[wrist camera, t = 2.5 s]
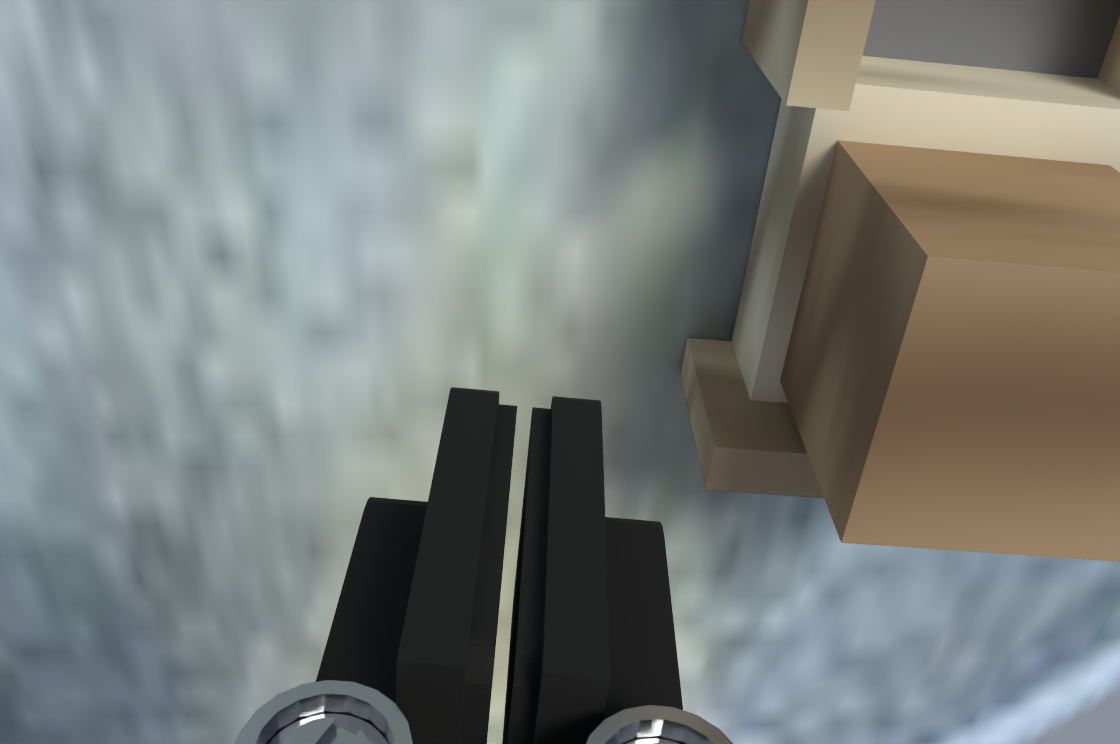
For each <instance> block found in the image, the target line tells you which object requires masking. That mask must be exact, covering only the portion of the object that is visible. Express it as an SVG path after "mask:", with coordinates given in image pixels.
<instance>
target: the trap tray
mask: <svg viewBox="0 0 1120 744" xmlns="http://www.w3.org/2000/svg"><path fill="white" fill-rule="evenodd" d="M741 42H742V44H743V45H744V46H745V48H746V49H747V51H748V52H749V54H750V55H751V56H752V58H753V59H754V61H755V62H756V63H757V65H758V66H759V68H760V69H761V70H762V72H763V73H764V75H765V76H766V77H767V79H768V80H769V82H770V83H771V85H772V86H773V87H774V89H775V90H776V92H777V93H778V94H779V96H780V97H781V103H780V108H779V113H778V118H777V123H776V128H775V132H774V137H773V142H772V147H771V152H770V157H769V161H768V166H767V171H766V176H765V181H764V186H763V190H762V195H761V200H760V205H759V210H758V215H757V219H756V224H755V229H754V234H753V239H752V244H751V249H750V253H749V258H748V263H747V268H746V273H745V278H744V282H743V287H742V292H741V297H740V302H739V307H738V311H737V316H736V321H735V326H734V331H733V336H732V340H731V341H724V340H711V339H699V338H687V342H686V348H685V354H684V359H683V365H682V370H681V381H682V385H683V390H684V394H685V399H686V403H687V408H688V412H689V417H690V421H691V426H692V430H693V435H694V439H695V444H696V448H697V453H698V457H699V462H700V466H701V471H702V475H703V480H704V484H705V489H706V490H717V491H731V492H745V493H759V494H774V495H788V496H802V497H816V498H824V496H823V493H822V491H821V488H820V485H819V483H818V480H817V477H816V475H815V472H814V470H813V467H812V464H811V462H810V459H809V456H808V454H807V451H806V449H805V446H804V443H803V441H802V438H801V435H800V433H799V430H798V428H797V425H796V422H795V420H794V417H793V414H792V412H791V409H790V407H789V404H788V401H787V399H786V396H785V393H784V391H783V388H782V386H781V383H780V379H781V374H782V370H783V366H784V362H785V358H786V353H787V349H788V345H789V341H790V337H791V333H792V328H793V324H794V320H795V316H796V312H797V308H798V303H799V299H800V295H801V291H802V287H803V282H804V278H805V274H806V270H807V266H808V262H809V257H810V253H811V249H812V245H813V241H814V237H815V232H816V228H817V224H818V220H819V216H820V211H821V207H822V203H823V199H824V195H825V191H826V186H827V182H828V178H829V174H830V170H831V165H832V161H833V157H834V153H835V149H836V145H837V140H841V141H852V142H863V143H873V144H884V145H895V146H906V147H917V148H928V149H938V150H949V151H960V152H971V153H982V154H993V155H1004V156H1014V157H1025V158H1036V159H1047V160H1058V161H1069V162H1079V163H1090V164H1101V165H1110V166H1111V167H1113V168H1114V169H1116V170H1117V171H1118V172H1120V0H749V1H748V7H747V12H746V18H745V23H744V29H743V34H742V40H741Z"/></svg>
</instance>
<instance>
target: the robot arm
mask: <svg viewBox="0 0 1120 744" xmlns="http://www.w3.org/2000/svg"><path fill="white" fill-rule="evenodd" d="M516 413H517V406H511V405H499V392H498V391H487V390H476V389H465V388H453V387H452V388H451V390H450V394H449V399H448V404H447V409H446V414H445V419H444V424H443V429H442V434H441V439H440V444H439V449H438V454H437V459H436V464H435V469H434V474H433V479H432V485H431V490H430V495H429V500H428V502H421V501H410V500H398V499H386V498H375V497H370V498H369V499H368V501H367V503H366V506H365V509H364V512H363V515H362V519H361V523H360V526H359V530H358V533H357V537H356V540H355V544H354V548H353V551H352V555H351V558H350V562H349V565H348V569H347V573H346V576H345V580H344V583H343V587H342V591H341V594H340V598H339V601H338V605H337V608H336V612H335V616H334V619H333V623H332V626H331V630H330V633H329V637H328V641H327V644H326V648H325V651H324V655H323V658H322V662H321V666H320V669H319V673H318V676H317V680H316V682H313V683H307V684H302V685H299V686H297V687H295V688H292V689H290V690H287V691H285V692H283V693H280V694H278V695H276V696H275V697H274V698H272V699H271V700H270V701H268V702H267V703H266V704H264V705H263V706H262V707H261V708H259V709H258V710H257V711H256V712H255V713H254V714H253V716H252V717H251V718H250V720H249V721H248V722H247V724H246V725H245V726H244V728H243V729H242V730H241V732H240V734H239V736H238V738H237V740H236V741H235V743H234V744H487V733H488V722H489V711H490V700H491V689H492V679H493V668H494V657H495V646H496V635H497V624H498V613H499V602H500V591H501V580H502V569H503V558H504V547H505V536H506V524H507V513H508V502H509V491H510V480H511V469H512V458H513V447H514V435H515V424H516ZM502 744H733V743H732V742H731V741H730V740H729V739H728V738H727V737H726V736H725V734H724V733H723V732H722V731H721V730H720V729H718V728H717V727H715V726H714V725H712V724H710V723H709V722H707V721H706V720H704V719H703V718H701V717H699V716H698V715H695V714H692V713H689V712H686V711H683V706H682V697H681V687H680V678H679V669H678V660H677V651H676V641H675V632H674V623H673V614H672V604H671V595H670V586H669V577H668V567H667V558H666V549H665V540H664V533H663V527H662V525H661V523H660V522H656V521H644V520H632V519H620V518H609V517H605V497H604V469H603V440H602V411H601V401H598V400H587V399H576V398H565V397H554V396H553V398H552V404H551V409H544V408H533V409H532V418H531V428H530V438H529V448H528V458H527V468H526V478H525V488H524V498H523V508H522V518H521V528H520V539H519V549H518V559H517V569H516V579H515V589H514V600H513V612H512V625H511V638H510V651H509V664H508V677H507V691H506V704H505V717H504V730H503V743H502Z"/></svg>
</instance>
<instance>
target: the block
mask: <svg viewBox="0 0 1120 744" xmlns="http://www.w3.org/2000/svg"><path fill="white" fill-rule="evenodd" d="M780 383H781V386H782V388H783V391H784V393H785V396H786V399H787V401H788V404H789V407H790V409H791V412H792V414H793V417H794V420H795V422H796V425H797V428H798V430H799V433H800V435H801V438H802V441H803V443H804V446H805V449H806V451H807V454H808V456H809V459H810V462H811V464H812V467H813V470H814V472H815V475H816V477H817V480H818V483H819V485H820V488H821V491H822V493H823V496H824V498H825V501H826V504H827V506H828V509H829V511H830V514H831V517H832V519H833V522H834V525H835V527H836V530H837V532H838V535H839V538H840V540H841V543H854V544H869V545H883V546H898V547H912V548H927V549H942V550H956V551H971V552H986V553H1000V554H1015V555H1029V556H1044V557H1059V558H1073V559H1088V560H1102V561H1117V562H1120V172H1118V171H1117V170H1116V169H1114V168H1113V167H1111V166H1110V165H1101V164H1090V163H1079V162H1069V161H1058V160H1047V159H1036V158H1025V157H1014V156H1004V155H993V154H982V153H971V152H960V151H949V150H938V149H928V148H917V147H906V146H895V145H884V144H873V143H863V142H852V141H841V140H837V145H836V149H835V153H834V157H833V161H832V165H831V170H830V174H829V178H828V182H827V186H826V191H825V195H824V199H823V203H822V207H821V211H820V216H819V220H818V224H817V228H816V232H815V237H814V241H813V245H812V249H811V253H810V257H809V262H808V266H807V270H806V274H805V278H804V282H803V287H802V291H801V295H800V299H799V303H798V308H797V312H796V316H795V320H794V324H793V328H792V333H791V337H790V341H789V345H788V349H787V353H786V358H785V362H784V366H783V370H782V374H781V379H780Z"/></svg>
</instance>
